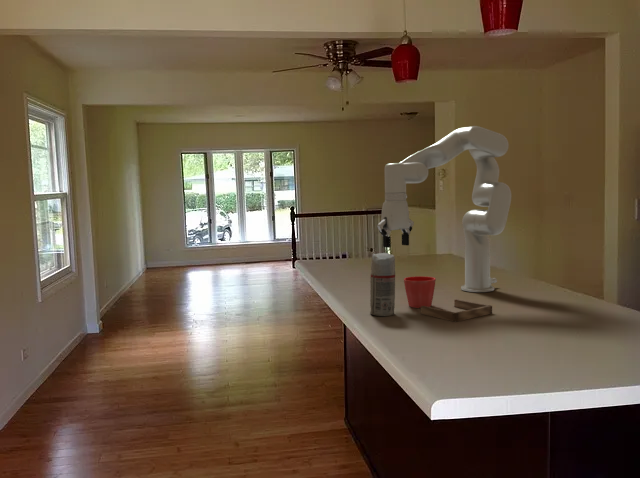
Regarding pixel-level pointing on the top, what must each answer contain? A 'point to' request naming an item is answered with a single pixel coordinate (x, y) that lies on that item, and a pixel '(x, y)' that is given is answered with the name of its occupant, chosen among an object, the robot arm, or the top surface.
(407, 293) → the flower pot
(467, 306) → the wooden bars
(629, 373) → the top surface
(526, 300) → the top surface
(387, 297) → the spray can
